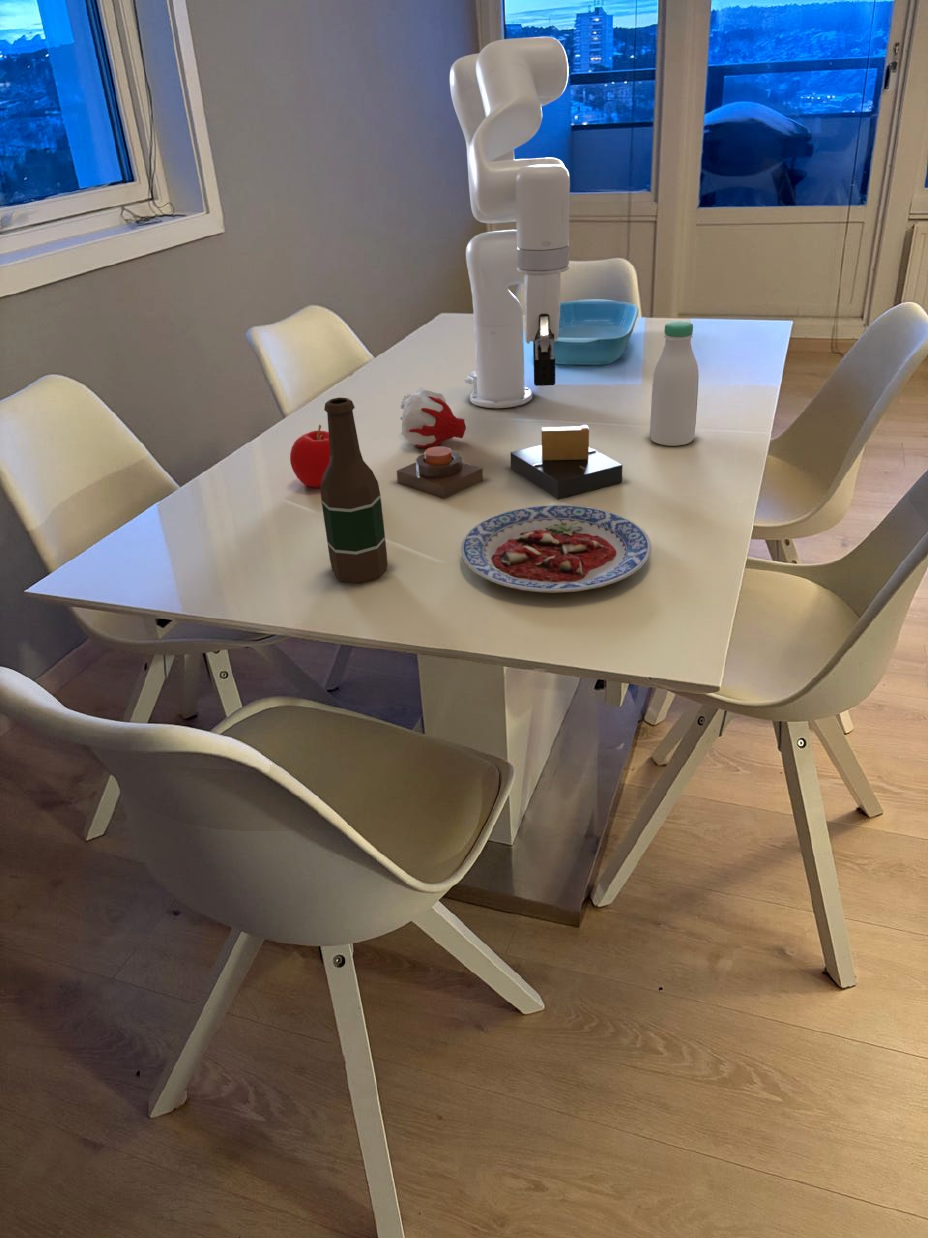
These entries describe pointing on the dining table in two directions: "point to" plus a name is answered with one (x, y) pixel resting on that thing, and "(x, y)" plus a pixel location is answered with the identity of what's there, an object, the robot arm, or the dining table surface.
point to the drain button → (438, 455)
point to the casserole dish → (593, 331)
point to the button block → (440, 476)
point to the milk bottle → (675, 388)
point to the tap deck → (566, 472)
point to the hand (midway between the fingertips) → (544, 375)
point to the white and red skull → (429, 419)
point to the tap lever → (565, 443)
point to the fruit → (311, 457)
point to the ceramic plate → (556, 548)
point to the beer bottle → (351, 502)
